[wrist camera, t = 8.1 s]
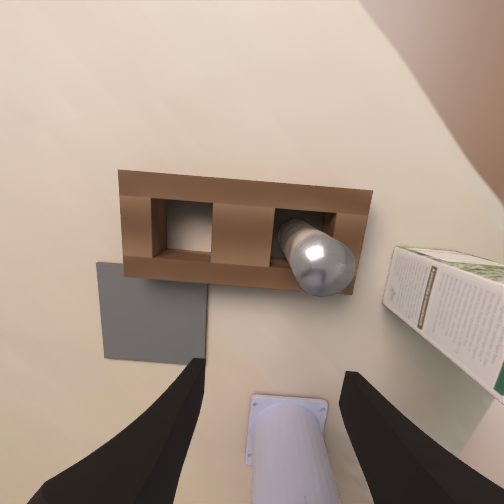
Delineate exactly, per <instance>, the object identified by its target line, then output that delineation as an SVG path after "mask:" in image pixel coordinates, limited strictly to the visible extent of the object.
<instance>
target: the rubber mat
mask: <svg viewBox="0 0 504 504" xmlns="http://www.w3.org/2000/svg"><path fill="white" fill-rule="evenodd" d="M96 267H97V279H98V290H99V301H100V312H101V324H102V335H103V346H104V358H109V359H121V360H134V361H147V362H160V363H173V364H185V365H188V364H189V362H190V361H191V360H192V359H193V358H203V359H205V343H206V314H207V285H208V284H207V283H194V282H182V281H169V280H157V279H144V278H132V277H124V265H123V264H118V263H106V262H97V263H96Z"/></svg>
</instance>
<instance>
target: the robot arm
mask: <svg viewBox="0 0 504 504" xmlns="http://www.w3.org/2000/svg"><path fill="white" fill-rule="evenodd" d="M205 363H206V359H203V358H193V359H192V360H191V361H190V362H189V364H188V365H187V366H186V368H185V369H184V370H183V371H182V373H181V374H180V375H179V376H178V377H177V379H176V380H175V381H174V382H173V383H172V384H171V385H170V386H169V388H168V389H167V390H166V391H165V392H164V393H163V394H162V395H161V396H160V397H159V398H158V399H157V400H156V401H155V402H154V403H153V404H152V405H151V406H150V407H149V408H148V409H147V410H146V411H145V412H144V413H143V414H141V415H140V416H139V417H138V418H137V419H136V420H135V421H133V422H132V423H131V424H130V425H129V426H127V427H126V428H125V429H124V430H122V431H121V432H120V433H119V434H117V435H116V436H115V437H114V438H112V439H111V440H110V441H108V442H107V443H105V444H104V445H103V446H101V447H100V448H98V449H97V450H95V451H94V452H93V453H91V454H90V455H88V456H87V457H85V458H84V459H82V460H81V461H79V462H78V463H76V464H74V465H73V466H71V467H70V468H68V469H66V470H65V471H63V472H61V473H60V474H58V475H56V476H55V477H53V478H51V479H50V480H48V481H46V482H45V483H44V484H43V485H42V486H41V488H40V489H39V490H38V491H37V492H36V493H35V494H34V496H33V497H32V498H31V499H30V500H29V502H28V503H27V504H173V501H174V497H175V493H176V489H177V485H178V481H179V477H180V474H181V470H182V467H183V463H184V460H185V457H186V454H187V451H188V448H189V445H190V442H191V439H192V436H193V432H194V429H195V426H196V423H197V420H198V417H199V413H200V409H201V404H202V400H203V395H204V384H205ZM255 403H256V404H255ZM339 407H340V410H341V414H342V418H343V421H344V425H345V428H346V430H347V433H348V436H349V438H350V441H351V443H352V446H353V448H354V451H355V453H356V456H357V458H358V461H359V463H360V466H361V468H362V471H363V473H364V476H365V478H366V481H367V483H368V486H369V489H370V492H371V495H372V497H373V501H374V504H504V489H503V488H501V487H499V486H498V485H496V484H495V483H493V482H492V481H490V480H489V479H487V478H486V477H484V476H483V475H481V474H480V473H478V472H477V471H475V470H474V469H472V468H471V467H469V466H468V465H467V464H465V463H464V462H462V461H461V460H459V459H458V458H457V457H455V456H454V455H453V454H451V453H450V452H448V451H447V450H446V449H444V448H443V447H442V446H441V445H439V444H438V443H437V442H435V441H434V440H433V439H432V438H430V437H429V436H428V435H426V434H425V433H424V432H423V431H422V430H420V429H419V428H418V427H417V426H416V425H414V424H413V423H412V422H411V421H410V420H409V419H408V418H406V417H405V416H404V415H403V414H402V413H401V412H400V411H399V410H397V409H396V408H395V407H394V406H393V405H392V404H391V403H390V402H389V401H388V400H387V399H386V398H385V397H384V396H382V395H381V394H380V393H379V392H378V391H377V390H376V389H375V388H374V387H373V386H372V385H371V384H370V383H369V382H368V381H367V380H366V379H365V378H364V377H363V376H362V375H361V374H359V373H358V372H352V371H346V373H345V377H344V382H343V386H342V391H341V395H340V400H339ZM321 408H323V409H321ZM327 410H328V403H327V401H326V400H324V399H312V398H299V397H286V396H273V395H260V394H254V395H252V396H251V404H250V414H249V424H248V435H247V445H246V456H245V463H246V464H247V465H249V466H252V480H251V504H341V501H340V498H339V494H338V490H337V487H336V483H335V479H334V476H333V472H332V469H331V465H330V461H329V458H328V454H327V450H326V447H325V443H324V440H323V436H322V435H323V430H324V425H325V420H326V415H327Z"/></svg>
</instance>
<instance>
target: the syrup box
mask: <svg viewBox="0 0 504 504" xmlns="http://www.w3.org/2000/svg"><path fill="white" fill-rule="evenodd" d="M382 303H383V304H384V305H385V306H386V307H387V308H388V309H390V310H391V311H392V312H393V313H395V314H396V315H397V316H398V317H399V318H401V319H402V320H403V321H404V322H405V323H407V324H408V325H409V326H410V327H411V328H413V329H414V330H415V331H416V332H417V333H419V334H420V335H421V336H422V337H423V338H424V339H426V340H427V341H428V342H429V343H430V344H432V345H433V346H434V347H435V348H437V349H438V350H439V351H440V352H441V353H442V354H444V355H445V356H446V357H447V358H448V359H450V360H451V361H452V362H453V363H455V364H456V365H457V366H458V367H459V368H460V369H462V370H463V371H464V372H465V373H466V374H468V375H469V376H470V377H471V378H472V379H473V380H475V381H476V382H477V383H478V384H479V385H481V386H482V387H483V388H484V389H485V390H486V391H488V392H489V393H490V394H491V395H492V396H494V397H495V398H496V399H497V400H499V402H501V403H502V404H503V405H504V264H503V263H499V262H496V261H492V260H488V259H484V258H480V257H477V256H473V255H469V254H465V253H462V252H458V251H451V250H437V249H423V248H410V247H398V246H397V247H395V249H394V253H393V256H392V260H391V264H390V269H389V273H388V278H387V282H386V287H385V291H384V296H383V301H382Z"/></svg>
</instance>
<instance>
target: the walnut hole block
mask: <svg viewBox="0 0 504 504" xmlns="http://www.w3.org/2000/svg"><path fill="white" fill-rule="evenodd" d="M118 180H119V197H120V214H121V231H122V248H123V265H124V277H132V278H144V279H157V280H169V281H182V282H194V283H207V284H219V285H232V286H245V287H257V288H270V289H282V290H295V291H305V290H304V289H303V288H302V287H301V286H300V285H299V283H298V281H297V279H296V277H295V275H294V273H293V271H292V269H291V267H290V265H289V263H288V260H287V258H275V257H270V254H271V244H272V234H273V224H274V214H275V208H282V209H294V210H307V211H319V212H325V214H324V221H323V227H322V232H323V233H325V234H327V235H329V236H330V237H332V238H334V239H336V240H337V241H339V242H341V243H343V244H344V245H346V246H347V247H348V248H349V249H350V251H351V252H352V254H353V256H354V259H355V273H354V276H353V278H352V280H351V282H350V283H349V285H348V286H347V287H346V288H345V289H343V290H342V291H341V292H339V293H337V294H345V295H352V294H353V289H354V284H355V279H356V274H357V269H358V264H359V259H360V254H361V249H362V244H363V239H364V234H365V229H366V224H367V219H368V214H369V209H370V204H371V199H372V194H373V191H372V190H360V189H348V188H336V187H323V186H311V185H299V184H287V183H275V182H263V181H250V180H238V179H226V178H214V177H202V176H189V175H177V174H165V173H153V172H141V171H129V170H118ZM166 199H172V200H184V201H196V202H209V203H213V216H212V243H211V252H201V251H188V250H176V249H167V228H166Z"/></svg>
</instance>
